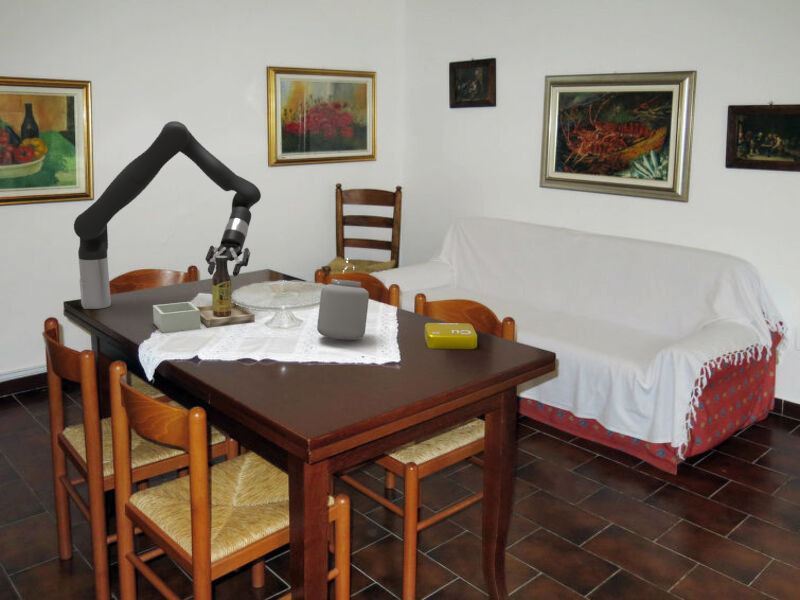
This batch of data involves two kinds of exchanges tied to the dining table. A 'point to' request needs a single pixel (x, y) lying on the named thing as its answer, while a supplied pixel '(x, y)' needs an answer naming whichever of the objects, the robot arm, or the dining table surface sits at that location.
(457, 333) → the element tile
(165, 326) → the box
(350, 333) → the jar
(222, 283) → the sauce bottle
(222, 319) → the tray
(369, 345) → the dining table surface
